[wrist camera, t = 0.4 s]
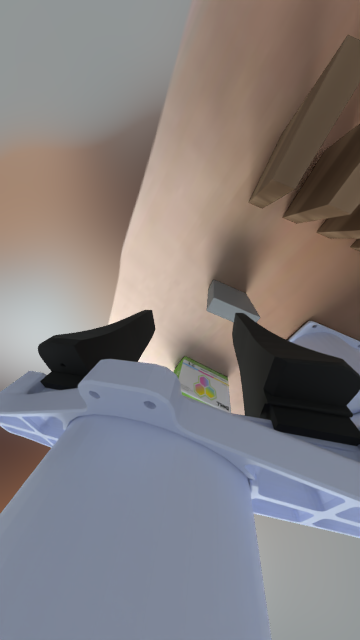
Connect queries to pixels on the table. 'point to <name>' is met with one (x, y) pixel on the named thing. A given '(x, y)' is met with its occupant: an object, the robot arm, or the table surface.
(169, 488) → the robot arm
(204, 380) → the ink box
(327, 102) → the domino
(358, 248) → the domino
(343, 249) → the table surface
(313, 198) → the domino
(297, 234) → the table surface
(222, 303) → the domino
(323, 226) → the domino
